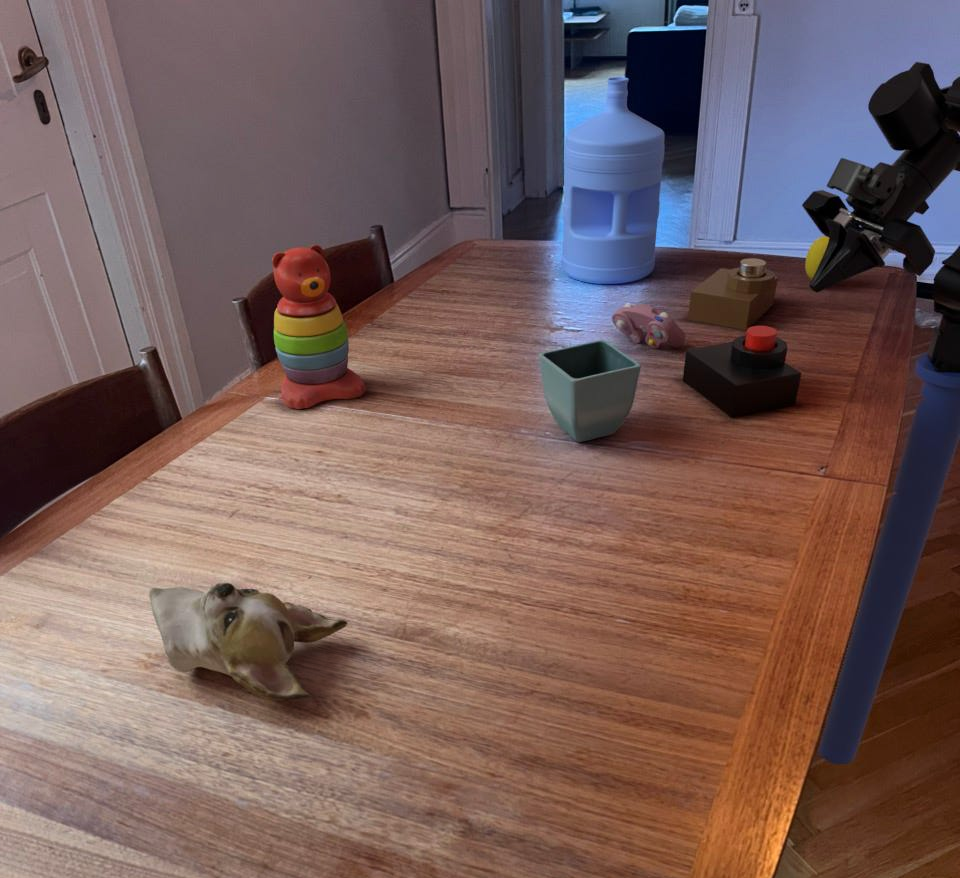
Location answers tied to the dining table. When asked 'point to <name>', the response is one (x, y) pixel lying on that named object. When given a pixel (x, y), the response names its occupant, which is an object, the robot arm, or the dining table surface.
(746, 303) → the far box
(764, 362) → the near box
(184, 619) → the ceramic sculpture
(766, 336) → the red button
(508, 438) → the dining table surface
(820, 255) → the lemon
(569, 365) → the flower pot
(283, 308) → the stacking bear
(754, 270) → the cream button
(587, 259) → the water jug
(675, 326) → the video game controller
